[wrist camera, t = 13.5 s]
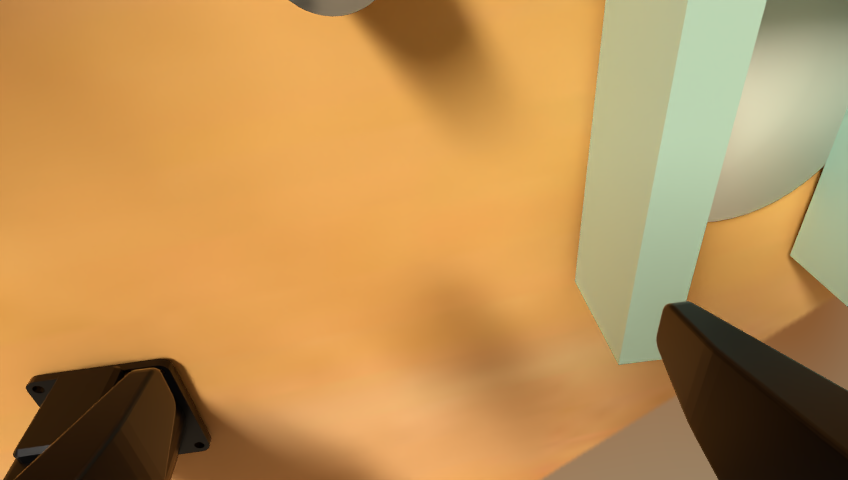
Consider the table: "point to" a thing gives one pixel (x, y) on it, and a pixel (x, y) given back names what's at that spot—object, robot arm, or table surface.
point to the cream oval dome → (786, 105)
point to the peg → (332, 6)
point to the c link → (677, 164)
